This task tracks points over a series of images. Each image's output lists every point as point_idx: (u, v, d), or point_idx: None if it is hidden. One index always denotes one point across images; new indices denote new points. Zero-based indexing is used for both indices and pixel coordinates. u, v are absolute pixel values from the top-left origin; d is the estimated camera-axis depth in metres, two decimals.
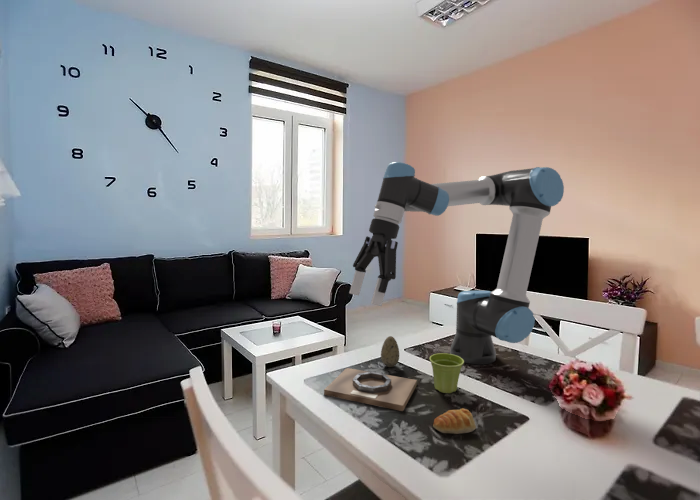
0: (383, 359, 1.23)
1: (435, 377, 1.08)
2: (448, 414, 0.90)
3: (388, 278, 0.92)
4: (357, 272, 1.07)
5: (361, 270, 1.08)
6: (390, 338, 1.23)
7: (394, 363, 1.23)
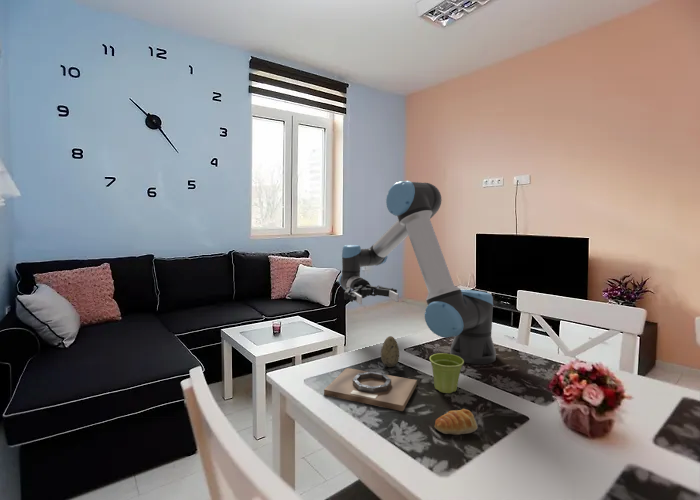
0: (383, 359, 1.23)
1: (435, 377, 1.08)
2: (449, 415, 0.90)
3: (347, 296, 1.36)
4: (389, 297, 1.40)
5: None
6: (390, 338, 1.23)
7: (394, 363, 1.23)
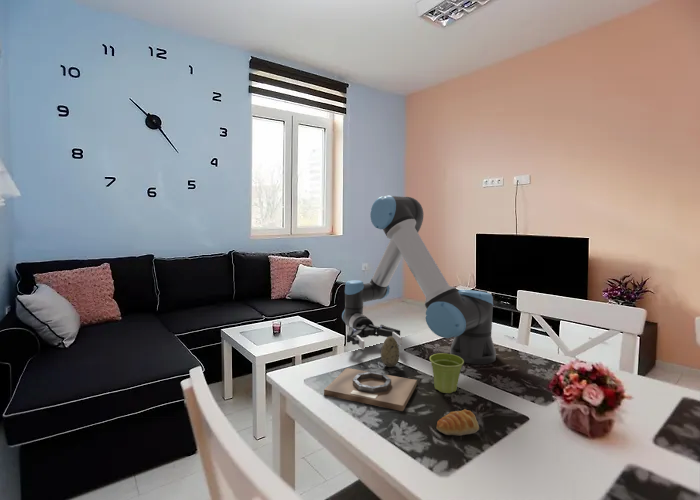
0: (383, 359, 1.23)
1: (435, 377, 1.08)
2: (451, 416, 0.89)
3: (349, 339, 1.34)
4: None
5: None
6: (390, 338, 1.23)
7: (394, 363, 1.23)
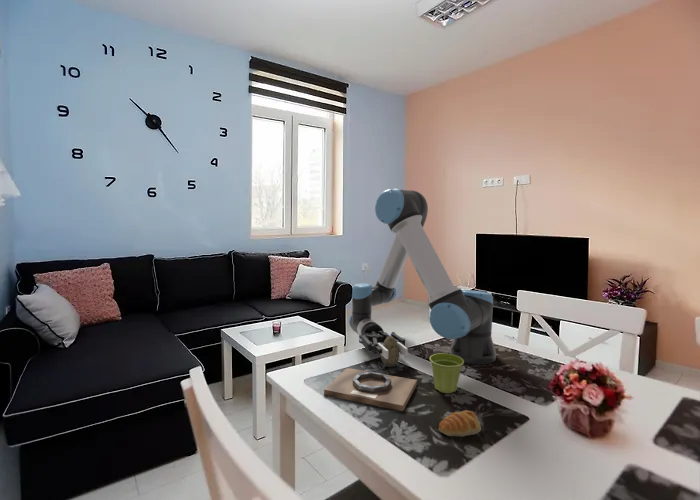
0: (383, 359, 1.23)
1: (435, 377, 1.08)
2: (453, 417, 0.89)
3: (371, 348, 1.25)
4: None
5: None
6: (390, 338, 1.23)
7: (394, 363, 1.23)
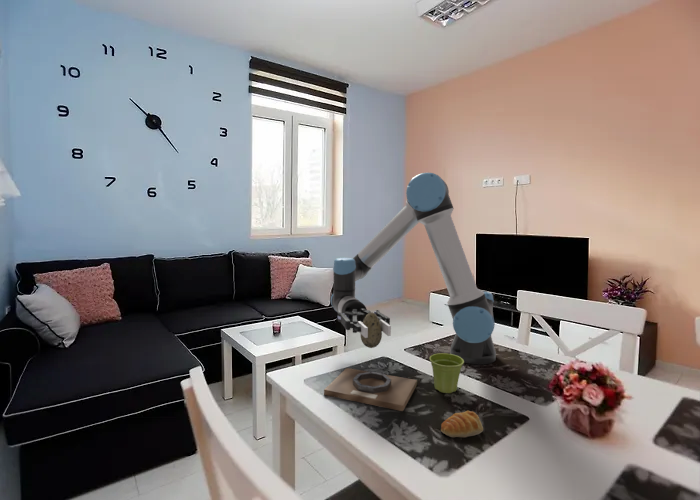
0: (363, 338, 1.06)
1: (435, 377, 1.08)
2: (455, 418, 0.89)
3: (349, 326, 1.08)
4: None
5: None
6: (371, 314, 1.06)
7: (375, 343, 1.06)
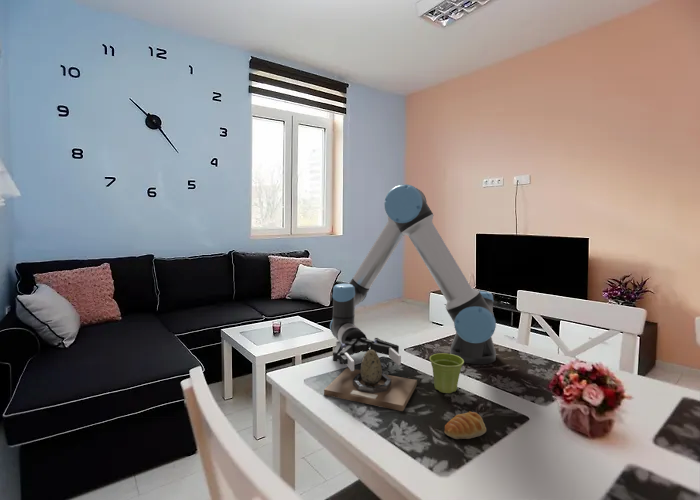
0: (363, 376, 1.06)
1: (435, 377, 1.08)
2: (458, 419, 0.88)
3: (336, 357, 1.08)
4: (389, 356, 1.12)
5: None
6: (370, 352, 1.07)
7: (376, 381, 1.06)
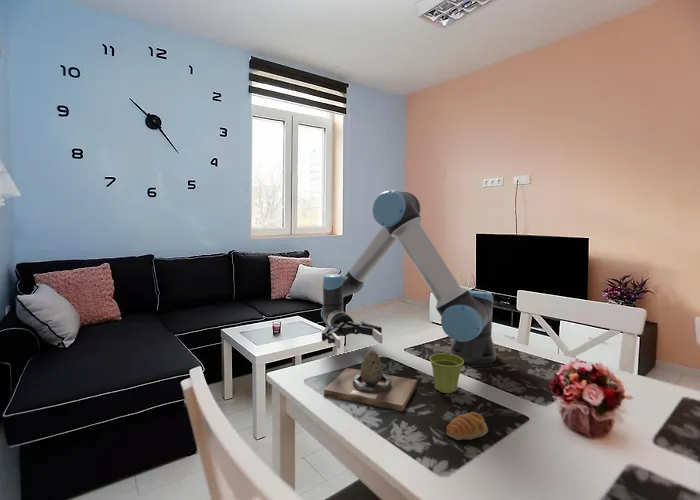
0: (363, 376, 1.06)
1: (435, 377, 1.08)
2: (460, 420, 0.88)
3: (324, 337, 1.21)
4: None
5: None
6: (371, 352, 1.07)
7: (376, 381, 1.06)
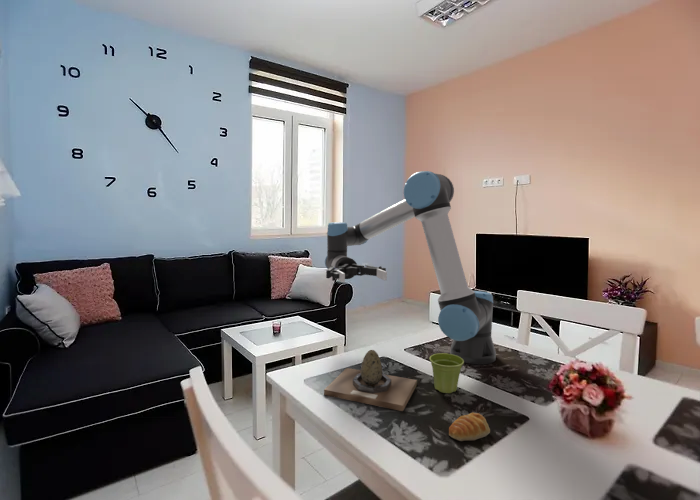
0: (363, 376, 1.06)
1: (435, 377, 1.08)
2: (462, 421, 0.87)
3: (329, 274, 1.21)
4: (377, 276, 1.25)
5: None
6: (371, 352, 1.07)
7: (376, 381, 1.06)
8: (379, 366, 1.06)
